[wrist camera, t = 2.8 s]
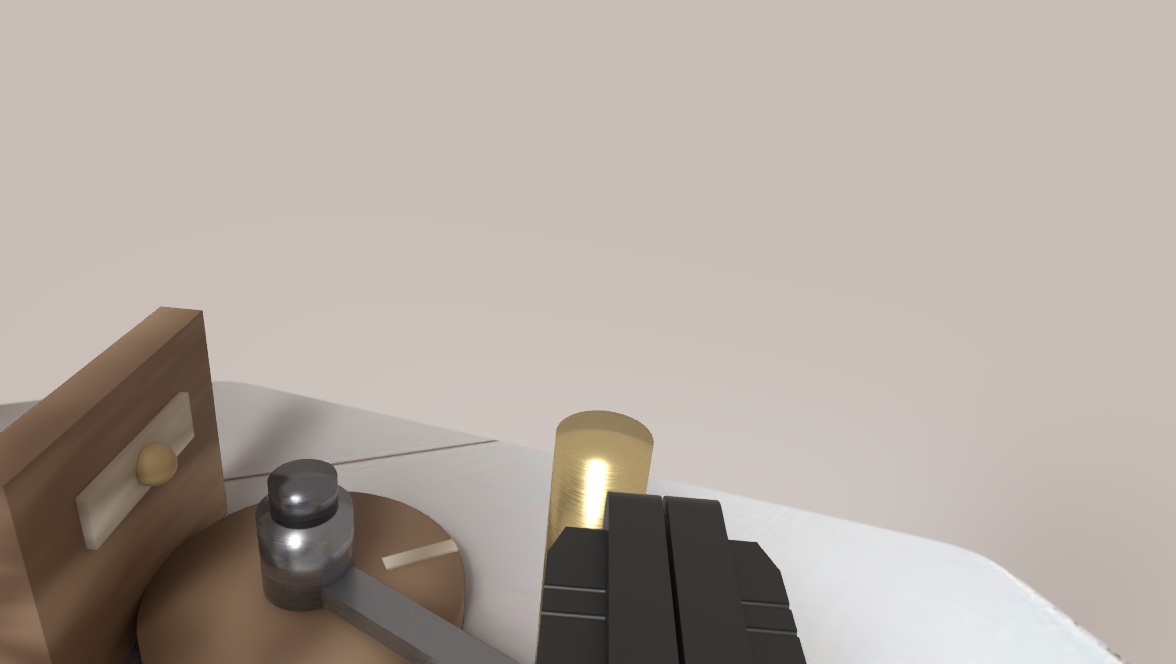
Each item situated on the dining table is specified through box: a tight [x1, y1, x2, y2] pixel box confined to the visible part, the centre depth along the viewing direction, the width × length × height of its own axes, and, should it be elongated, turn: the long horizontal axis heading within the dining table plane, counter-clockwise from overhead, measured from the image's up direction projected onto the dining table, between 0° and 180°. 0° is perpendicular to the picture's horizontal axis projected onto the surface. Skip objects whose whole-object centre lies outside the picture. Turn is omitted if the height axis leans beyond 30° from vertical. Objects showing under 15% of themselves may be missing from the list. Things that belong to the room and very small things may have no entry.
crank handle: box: [255, 411, 653, 664], centre depth 31 cm, size 18×4×15 cm, turn 59°
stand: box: [0, 307, 465, 664], centre depth 35 cm, size 16×14×12 cm
